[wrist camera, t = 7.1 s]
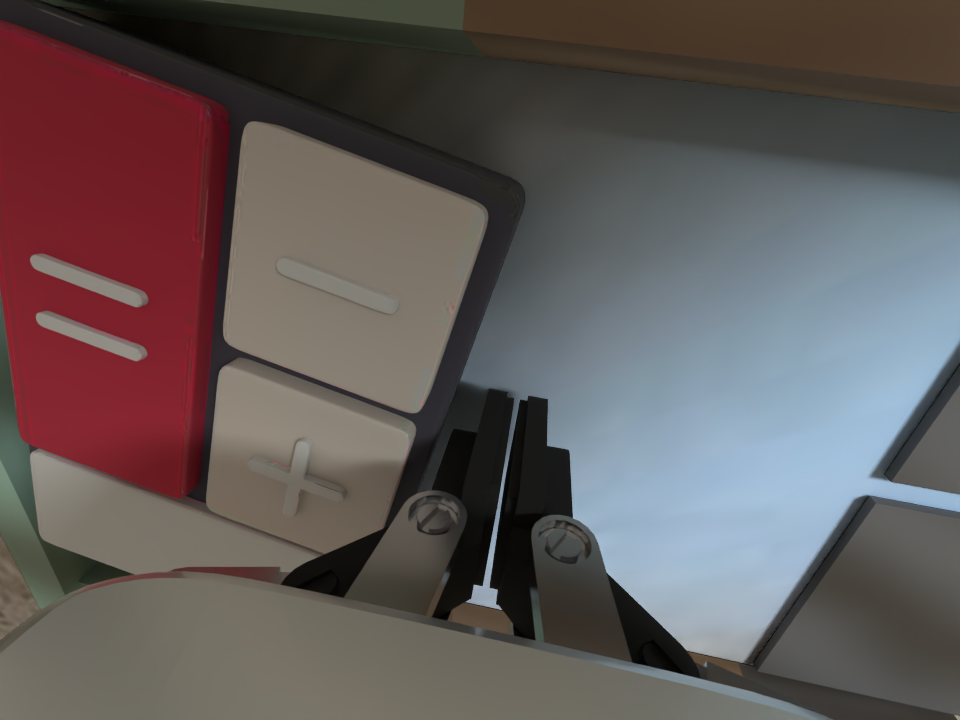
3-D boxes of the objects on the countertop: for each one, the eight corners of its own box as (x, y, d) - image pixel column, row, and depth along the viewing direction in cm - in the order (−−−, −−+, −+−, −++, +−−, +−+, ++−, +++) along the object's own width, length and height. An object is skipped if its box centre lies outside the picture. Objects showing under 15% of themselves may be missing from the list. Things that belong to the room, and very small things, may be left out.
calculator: (527, 192, 8) (347, 678, 14) (532, 184, 11) (391, 565, 18) (-91, -46, 7) (10, 556, 14) (130, 29, 11) (130, 469, 17)
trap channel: (-130, -97, 10) (-380, -185, 7) (1658, 86, 7) (2294, 52, 5) (111, 547, 19) (40, 611, 17) (925, 729, 17) (996, 840, 14)
